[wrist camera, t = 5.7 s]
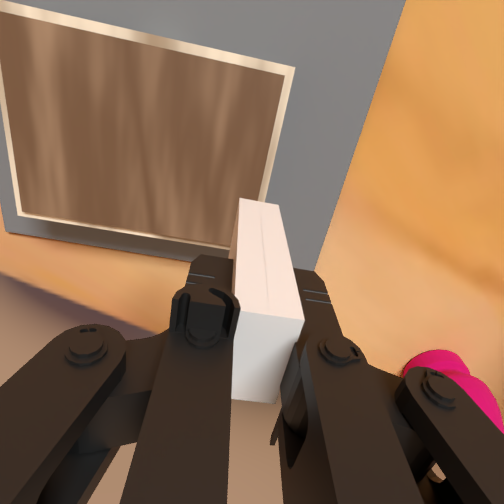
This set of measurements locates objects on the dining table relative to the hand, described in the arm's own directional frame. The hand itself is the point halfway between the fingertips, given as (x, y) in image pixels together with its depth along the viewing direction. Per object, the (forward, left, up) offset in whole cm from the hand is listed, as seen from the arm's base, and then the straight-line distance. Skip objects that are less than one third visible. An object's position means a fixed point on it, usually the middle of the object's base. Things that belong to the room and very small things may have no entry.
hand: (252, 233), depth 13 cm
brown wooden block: (-1, 0, -11) cm, 11 cm away
